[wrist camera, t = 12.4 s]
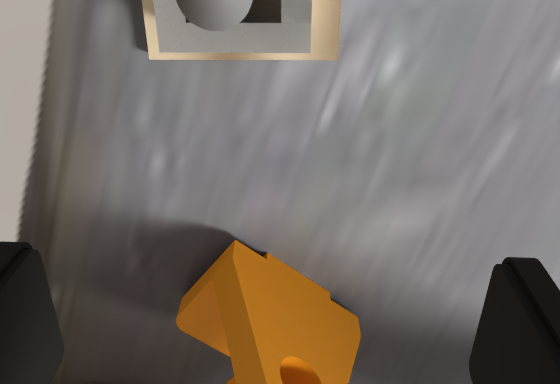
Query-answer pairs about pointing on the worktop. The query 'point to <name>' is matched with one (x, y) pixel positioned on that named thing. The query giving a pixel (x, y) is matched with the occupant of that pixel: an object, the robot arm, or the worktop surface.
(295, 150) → the worktop surface
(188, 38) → the collar
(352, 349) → the bracket
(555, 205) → the worktop surface
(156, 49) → the post stand
